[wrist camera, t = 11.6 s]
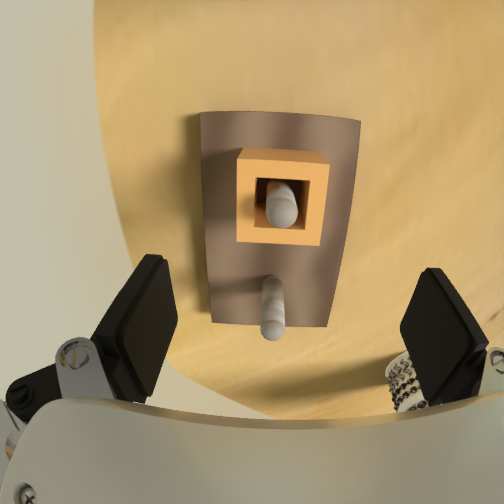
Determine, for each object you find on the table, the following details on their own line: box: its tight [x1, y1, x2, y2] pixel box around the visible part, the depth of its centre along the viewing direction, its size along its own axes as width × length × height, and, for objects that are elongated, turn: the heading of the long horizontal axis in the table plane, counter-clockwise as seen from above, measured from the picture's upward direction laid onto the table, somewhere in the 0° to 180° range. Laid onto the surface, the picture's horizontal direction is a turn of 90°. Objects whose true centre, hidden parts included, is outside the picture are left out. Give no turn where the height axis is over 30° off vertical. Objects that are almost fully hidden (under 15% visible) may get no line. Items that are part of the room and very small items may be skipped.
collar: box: [237, 147, 330, 246], centre depth 21 cm, size 6×6×5 cm
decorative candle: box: [385, 351, 443, 413], centre depth 27 cm, size 9×9×25 cm
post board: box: [200, 111, 361, 341], centre depth 24 cm, size 13×22×10 cm, turn 179°
